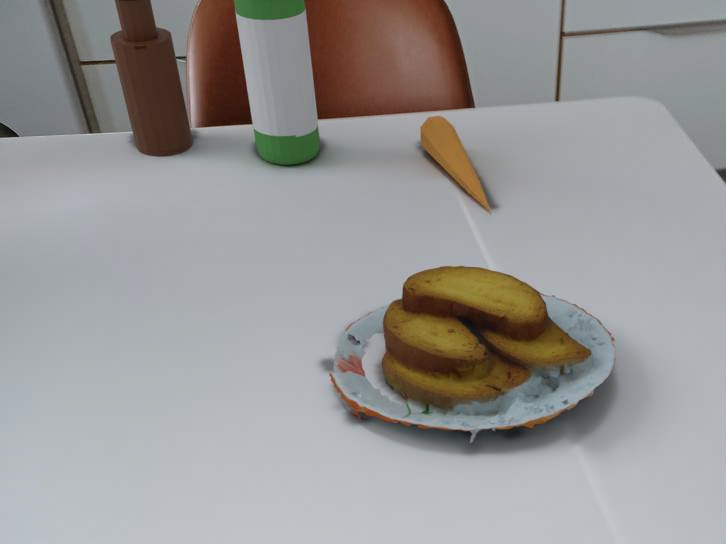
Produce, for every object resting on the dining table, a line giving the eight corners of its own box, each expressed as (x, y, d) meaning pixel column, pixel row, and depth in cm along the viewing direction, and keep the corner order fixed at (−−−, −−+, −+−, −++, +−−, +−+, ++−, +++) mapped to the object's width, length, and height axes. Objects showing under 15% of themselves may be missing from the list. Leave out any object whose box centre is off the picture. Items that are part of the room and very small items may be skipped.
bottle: (136, 158, 117) (99, 6, 105) (137, 136, 122) (101, -12, 110) (193, 153, 118) (162, 2, 106) (192, 132, 123) (162, -15, 111)
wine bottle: (256, 144, 120) (208, -165, 98) (319, 140, 121) (285, -167, 99) (258, 169, 115) (208, -151, 93) (323, 165, 116) (289, -153, 94)
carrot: (423, 154, 120) (409, 121, 117) (454, 135, 120) (442, 102, 116) (480, 238, 110) (467, 206, 106) (514, 218, 109) (503, 185, 105)
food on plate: (337, 472, 77) (328, 401, 72) (325, 313, 93) (317, 247, 88) (647, 445, 79) (658, 375, 74) (581, 295, 96) (587, 231, 91)
